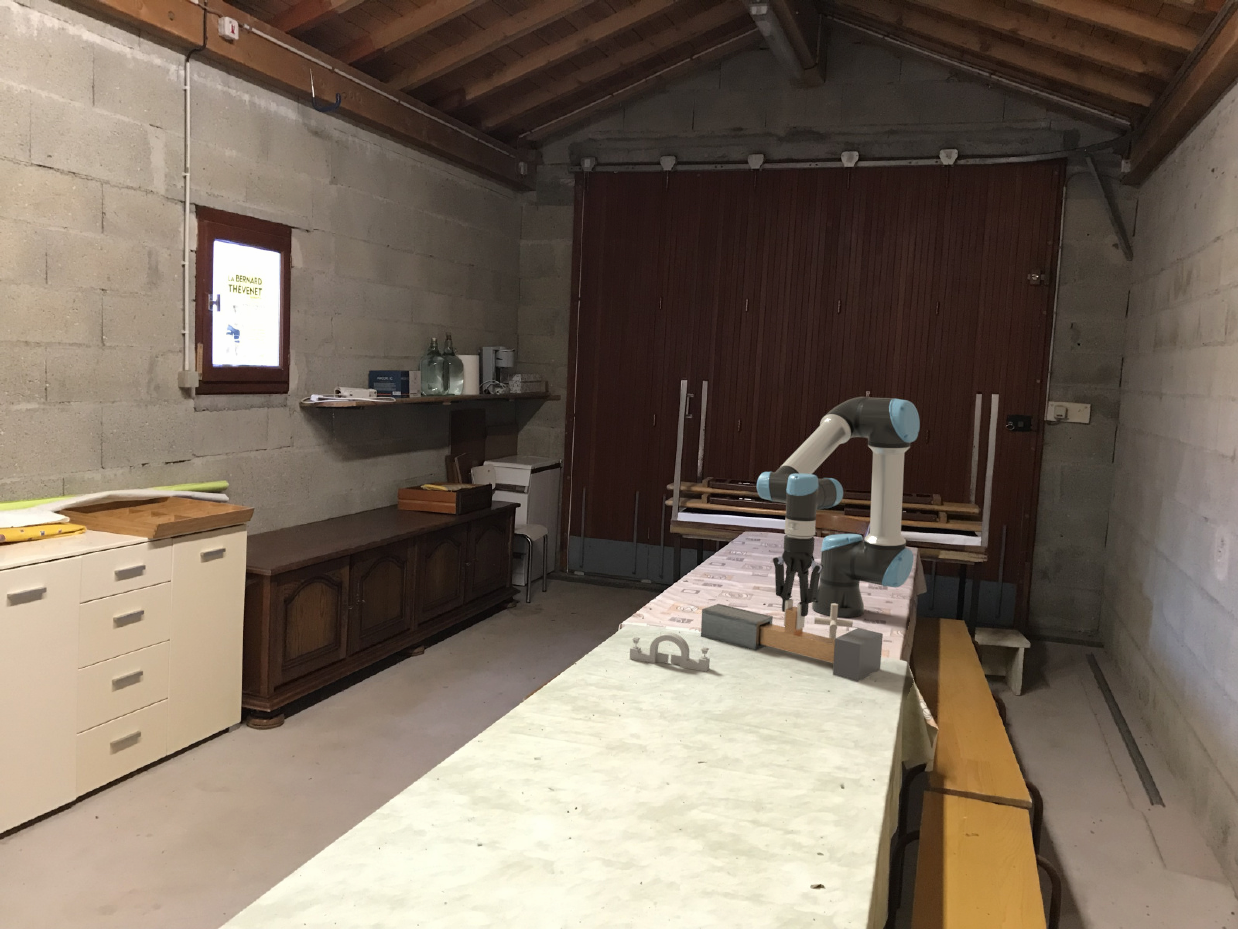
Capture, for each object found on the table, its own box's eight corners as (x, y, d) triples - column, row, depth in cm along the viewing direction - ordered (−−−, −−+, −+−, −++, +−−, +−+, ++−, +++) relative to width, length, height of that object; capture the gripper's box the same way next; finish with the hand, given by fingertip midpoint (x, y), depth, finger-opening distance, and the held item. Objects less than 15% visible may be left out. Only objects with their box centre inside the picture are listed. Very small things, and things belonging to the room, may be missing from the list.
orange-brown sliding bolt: (738, 632, 255) (740, 594, 254) (841, 658, 236) (844, 617, 235) (729, 636, 252) (731, 597, 251) (833, 662, 233) (836, 621, 232)
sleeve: (717, 630, 262) (718, 603, 261) (771, 644, 251) (772, 616, 250) (700, 636, 256) (702, 609, 255) (755, 650, 245) (756, 622, 244)
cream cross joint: (851, 648, 251) (854, 610, 249) (813, 644, 253) (815, 607, 251) (850, 637, 260) (853, 601, 259) (813, 633, 262) (815, 598, 261)
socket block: (855, 663, 238) (858, 628, 237) (880, 669, 234) (882, 633, 233) (832, 674, 229) (835, 638, 228) (857, 681, 225) (860, 644, 224)
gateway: (709, 670, 230) (710, 638, 229) (706, 673, 228) (708, 641, 227) (632, 658, 237) (633, 627, 236) (629, 661, 235) (630, 629, 234)
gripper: (764, 532, 241) (759, 622, 244) (820, 542, 231) (814, 636, 234) (779, 528, 247) (774, 617, 250) (835, 538, 237) (829, 630, 240)
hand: (793, 626), depth 242 cm, fingers closed on orange-brown sliding bolt, 3 cm apart
